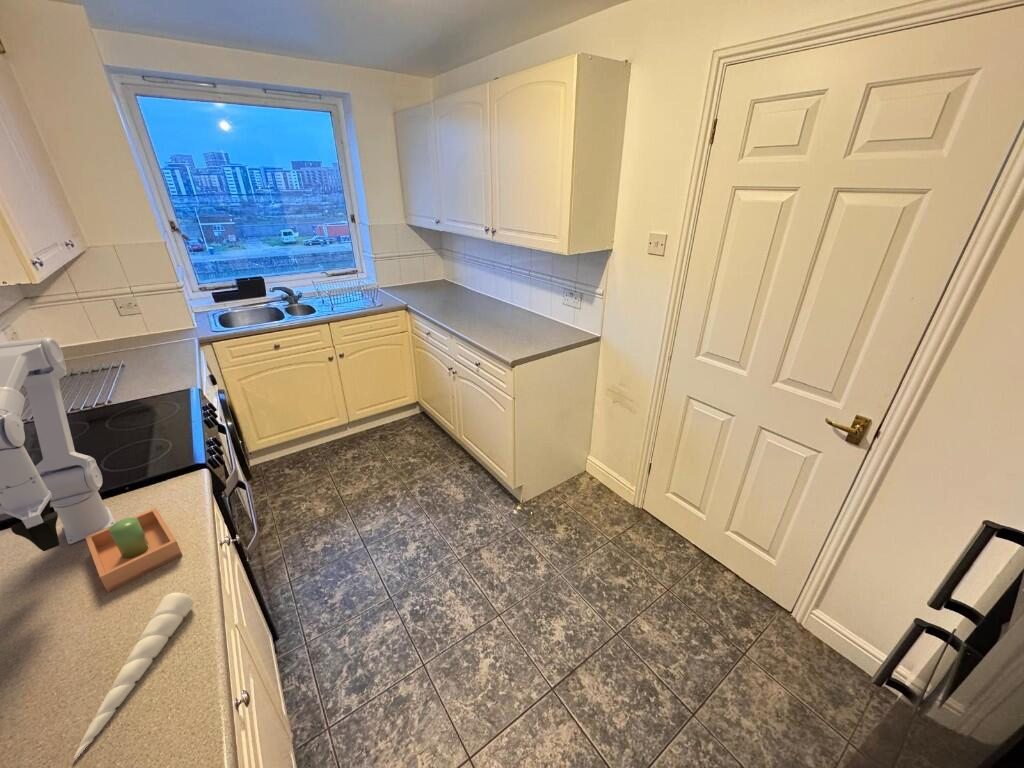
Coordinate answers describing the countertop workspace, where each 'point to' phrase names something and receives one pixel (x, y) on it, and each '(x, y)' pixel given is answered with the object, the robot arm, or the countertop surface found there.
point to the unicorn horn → (140, 659)
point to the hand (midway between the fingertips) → (48, 537)
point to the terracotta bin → (125, 570)
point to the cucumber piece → (129, 537)
